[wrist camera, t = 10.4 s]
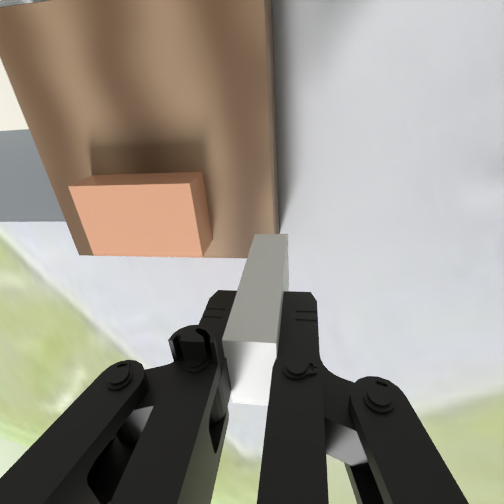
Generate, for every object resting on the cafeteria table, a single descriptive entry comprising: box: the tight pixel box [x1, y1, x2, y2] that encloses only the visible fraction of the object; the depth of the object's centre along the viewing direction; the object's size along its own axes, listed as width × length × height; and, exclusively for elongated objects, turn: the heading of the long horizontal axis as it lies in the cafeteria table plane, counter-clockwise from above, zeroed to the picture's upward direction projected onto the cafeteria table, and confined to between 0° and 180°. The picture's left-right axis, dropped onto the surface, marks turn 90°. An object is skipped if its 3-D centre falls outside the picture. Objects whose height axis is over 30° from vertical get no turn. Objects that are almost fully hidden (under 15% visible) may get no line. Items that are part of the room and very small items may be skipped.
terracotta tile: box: [68, 172, 213, 257], centre depth 21 cm, size 8×5×2 cm, turn 94°
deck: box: [0, 0, 279, 258], centre depth 22 cm, size 16×16×4 cm
